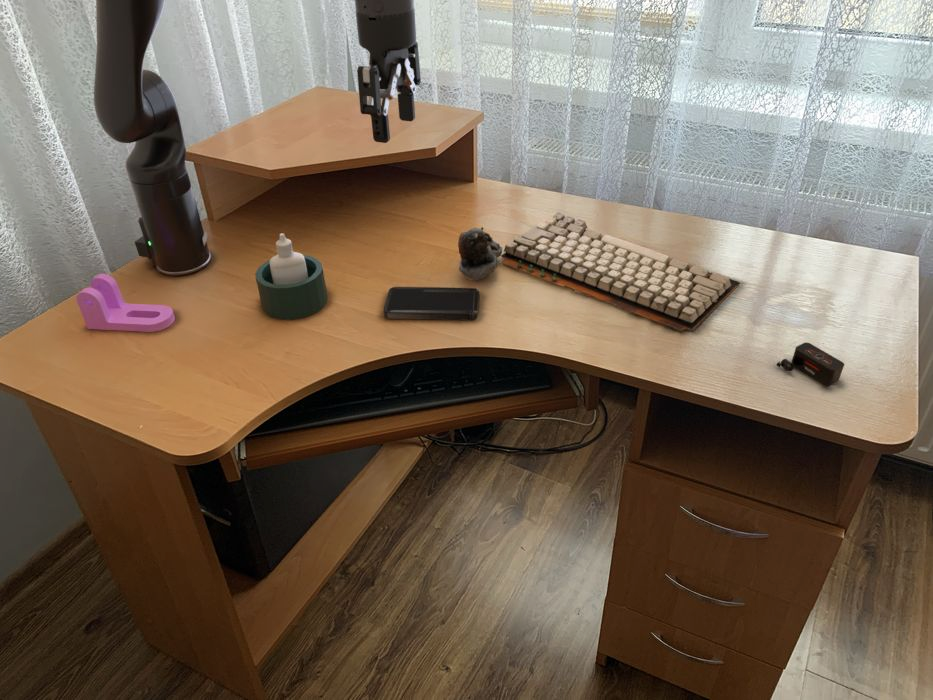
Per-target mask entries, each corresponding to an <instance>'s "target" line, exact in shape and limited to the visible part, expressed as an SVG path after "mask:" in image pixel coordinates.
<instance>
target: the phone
mask: <svg viewBox="0 0 933 700" xmlns="http://www.w3.org/2000/svg"><path fill="white" fill-rule="evenodd" d="M479 305H480V290H479V288H477V287H444V286H443V287H441V286H439V287H437V286H392V287H390V288H389V289H388V292H387V296H386V299H385V302H384V306H383V316H384V317H385V318H387V319H393V320H395V319H398V320H400V319H402V320H403V319H404V320H449V321H472V320H475V319H477V318H478V312H479Z"/></svg>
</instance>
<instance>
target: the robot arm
mask: <svg viewBox="0 0 933 700" xmlns="http://www.w3.org/2000/svg"><path fill="white" fill-rule="evenodd" d="M353 2H354V10H355V20H356V27H357V28H356V29H357V39H358V40H357V41H358V44H359V46H360V47H361V48H362V49H365V50H366V51H367V52H368V53H369V60H368V61H369V62H368V65H359V66H358V67H357V70H356V72H357V82H358V84H357V85H358V96H359V98H358V99H359V109H360V114H361V115H369V116H370V119H371V130H372V138H373V141H374V142H375V143H382V144H386V143H388V142H390V140H391V132H390V121H389V120H390V119H389V114H388V112H389V106H390V102H391V100H393V99H394V98H395V94H396V91H397V104H398V116H399V117H398V118H399V120H401V121H404V122H413V121H414V120H415V119H416V109H415V108H416V107H415V94H416V92H417V86H420V85H421V83H422V80H421V79H422V77H421V65H420V55H419V44H418V43H419V42H418V41H417V29H416V10H415V9H416V8H415V0H354V1H353ZM95 5H96V6H95V16H96V17H95V19H96V23H95V24H96V56H95V67H94V68H95V69H94V70H95V71H94V85H93V104H94V112H95V114H96V119H97V120H98V123H99V125H100V126H101V128H102V130H103V131H104V132H105V134H107V136H108V137H110V138H111V139H112V140H113V141H115V142H118V143H121V144H132V143H134V146H133V148H132V150H131V152H130V154H129V155H128V157H127V158H126V160H125V170H126V174H127V177H128V179H129V182H130V186H131V188H132V192H133V195H134V197H135V200H136V204H137V207H138V210H139V213H140V217H138V224H139V225H138V226H139V228H140V230H141V233H142V236H141V237H139V238H138V239H136V240H134V245H135V248H136V251H137V254H138V256H139V257H142V258H147V260H149V261H151V264H152V267H153V268H156V269H157V271H158V272H159V273H161V274H163V275H166V276H171V277H172V276H173V277H175V276H187V275H190V274H193V273H197V272H199V271H201V270H203V269H204V268H205V267H207V266H208V265H209V264H210V263H211V261H212V255H211V252H210V250H209V246H208V243H207V239H208V234H207V230H204V228H203V224H202V220H201V216H200V213H199V208H198V205H197V202H196V197H195V194H194V190H193V187H192V183H191V178H190V176H189V175H190V174H189V172H188V169H187V164H186V156H187V146H186V141H185V135H184V130H183V126H182V121H181V116H180V112H179V108H178V105H177V101H176V98H175V96H174V94H173V90H171V88H170V86H169V84H168V83H167V82H166V81H165V79H163V77H162V76H161V75H159V74H158V73H156V72H155V71H152V70H149V69H144V64H145V58H146V54H147V51H148V48H149V46H150V43H151V41H152V39H153V36H154V33H155V32H156V29H157V27H158V24H159V22H160V19H161V17H162V14H163V11H164V7H165V5H166V0H95ZM381 99H382V100H381Z"/></svg>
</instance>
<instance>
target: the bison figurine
mask: <svg viewBox="0 0 933 700" xmlns="http://www.w3.org/2000/svg"><path fill="white" fill-rule="evenodd" d="M457 247H458V253H459V256H460V260H461V261H460V264H459V266H458V270H459V272H460V273H461V274H462V275H463V276H464V277H465V278H467V279H468V280H470V281H478V280H482V279H484V278H486V277H487V276H488V275H490V274H491V273H493V272H494V271H495V270H496V267H497V259H498V258H499V257H501V255H503V246H501V243H498V242H496V241H495V240H494V239H493V237H492V236H491V235H490V233H488V231H485V230H484V227H483V226H481V228H480V227H479V228H478V227H472V228H470V229H466V230H463V231H461V232H460V233H459V236H458V243H457Z"/></svg>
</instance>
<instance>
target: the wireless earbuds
mask: <svg viewBox="0 0 933 700" xmlns="http://www.w3.org/2000/svg"><path fill="white" fill-rule="evenodd" d="M775 365H776V366H777V367H778V368H783V369H784V370H785V371H786V372H792V371H793V370H794V369H795V370H796V371H799V372H801V373H802V374H803V375H805V376H806V377H809V378H810V379H812V380H814V381H815V382H816V383H819V384H820V385H822V386H823V387H825V388H829V387H832V386H833V385H835V384H837V383H839V381H840V379H841V376H842V373H843V370H844V367H845V363H844V362H843V361H841V360H840V359H838V358H836V357H834V356H833V355H831V354H830V353H828V352H826V351H825V350H822V349H821V348H820V347H817V346H816V345H813V344H812V343H810V342H803V343H801V344H799V345H796V346H795V349H794V352H793V356H792V358H791V362H790V360H788V359H787V358H783V359H782V360H781V361H778V362H777V363H776V364H775Z"/></svg>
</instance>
